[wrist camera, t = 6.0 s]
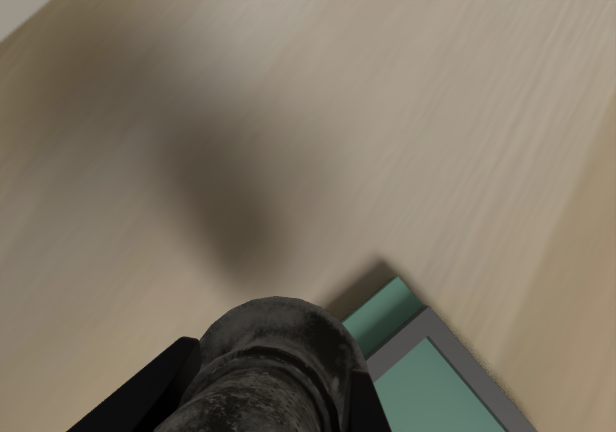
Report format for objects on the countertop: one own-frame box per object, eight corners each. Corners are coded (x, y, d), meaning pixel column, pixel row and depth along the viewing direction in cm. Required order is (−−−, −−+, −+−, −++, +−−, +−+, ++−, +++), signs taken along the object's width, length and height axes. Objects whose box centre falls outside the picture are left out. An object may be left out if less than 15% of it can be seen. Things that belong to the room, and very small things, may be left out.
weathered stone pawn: (193, 432, 15) (-304, 942, 3) (236, 282, 16) (2, 226, 4) (342, 474, 14) (449, 1294, 2) (373, 317, 15) (545, 362, 4)
